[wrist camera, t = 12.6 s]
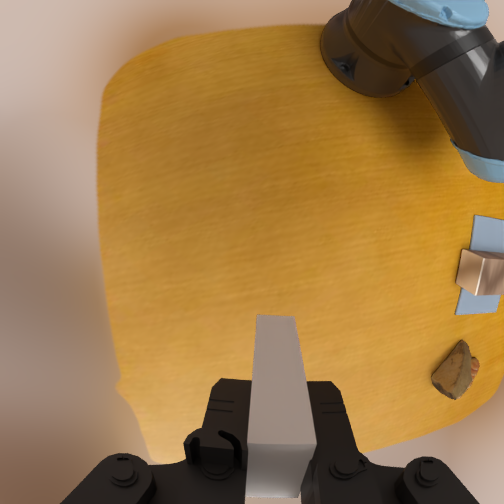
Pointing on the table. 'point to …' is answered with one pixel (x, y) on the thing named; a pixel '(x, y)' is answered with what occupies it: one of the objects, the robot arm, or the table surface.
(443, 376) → the rock
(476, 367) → the pastry
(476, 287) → the walnut block
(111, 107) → the table surface
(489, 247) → the mat
